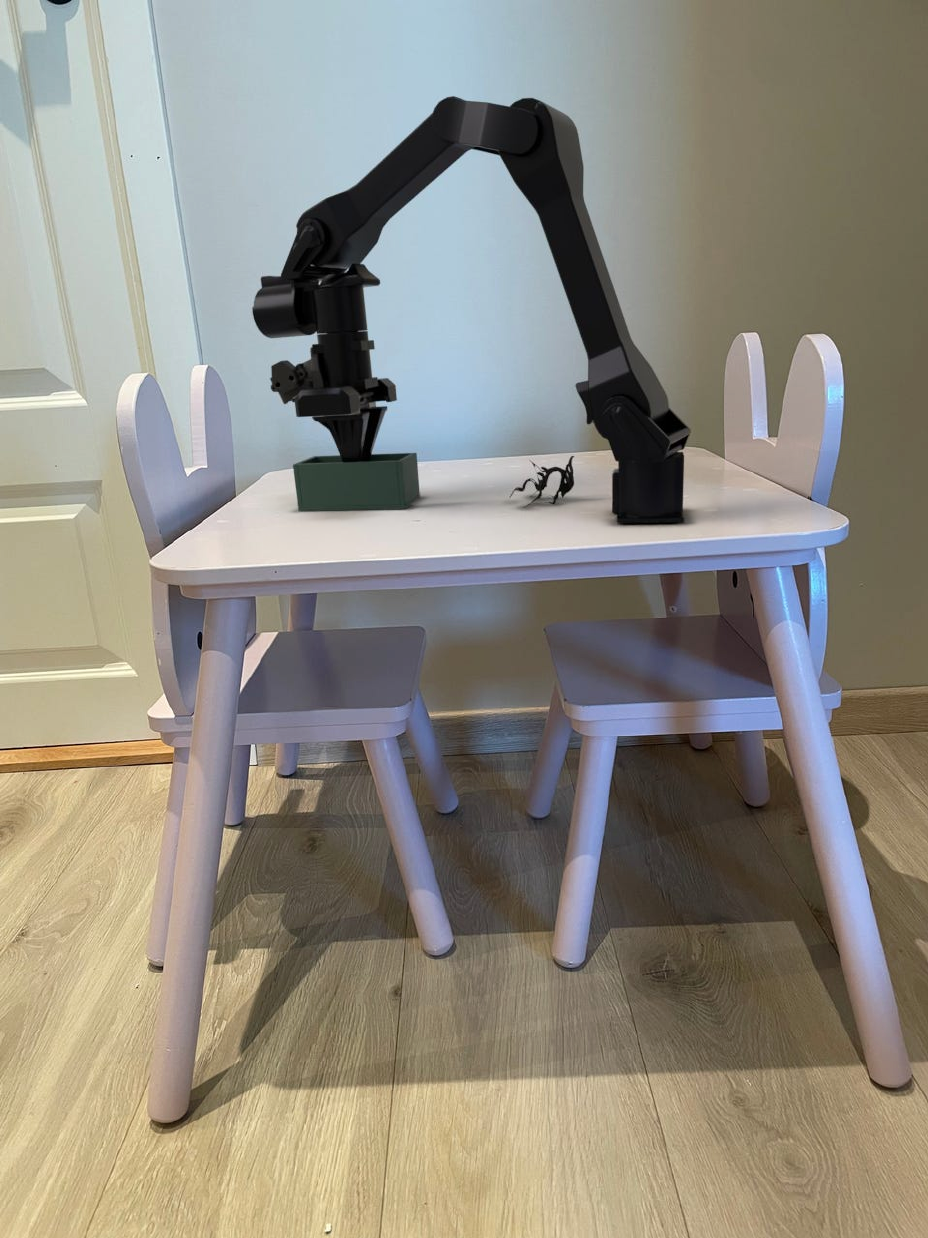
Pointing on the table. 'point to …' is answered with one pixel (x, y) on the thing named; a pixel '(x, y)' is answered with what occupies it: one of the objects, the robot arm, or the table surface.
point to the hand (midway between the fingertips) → (357, 471)
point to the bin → (357, 483)
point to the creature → (542, 484)
